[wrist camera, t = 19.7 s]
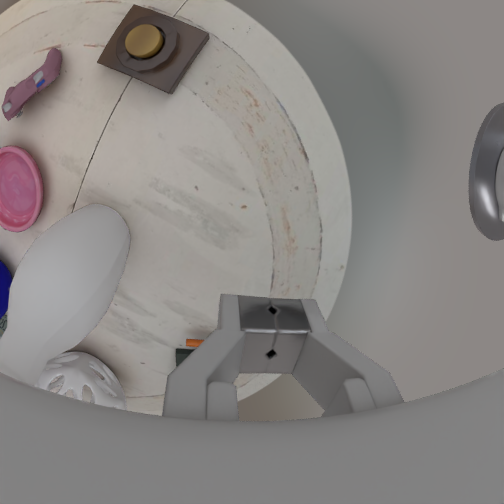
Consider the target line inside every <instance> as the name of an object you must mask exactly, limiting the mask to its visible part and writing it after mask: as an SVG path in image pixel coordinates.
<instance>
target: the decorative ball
mask: <svg viewBox="0 0 504 504" xmlns="http://www.w3.org/2000/svg"><path fill="white" fill-rule="evenodd" d="M91 368H92V369H94V370H96V371H98V372H99V373H101V374H102V376H103V377H104V378H105V379H103V380H102V379H100V378H99V377H98V376H97V375H96V374H95V373H94V372H93V370H92V369H91ZM60 375H62V376H61V377H60V378H59V379H58V380H56V381H55V382H53V383H51V381H52V380H53V379H54V378H56V377H57V376H60ZM61 384H63V386H62V387H61V389H60V390H59V391H58V392H56V393H57V394H60V395H63V396H66V392H67V391H68V390H70V389H71V390H72V392H73V396H74V399H77V400H81V401H83V399H82V391H83V387H84V385H87V386H89V387H90V389H91V390H92V398H91V401H90V403H93V404H97V405H102V406H106V407H111V408H116V409H121V410H127V405H126V398H125V394H124V391H123V389H122V386H121V384H120V382H119V381H118V379H117V378H116V376H115V375H114V373H113V372H112V371H111V370H110V369H109V368H108V367H107V366H106V365H105V364H104V363H102V362H101V361H100V360H98V359H97V358H95V357H94V356H92V355H90V354H87V353H84V352H67V353H62V354H60V355H58V356H56V357H54V358H52V359H50V360H48V361H47V363H46V365H45V367H44V369H43V371H42V373H41V375H40V377H39V379H38V381H37V383H36V385H35V386H36V387H39V388H42V389H44V390H47V391H50V390H51V389H53V388H55V387H57V386H59V385H61ZM110 393H111V394H112V395H113V396H114V397H112V396H111V394H110ZM114 406H115V407H114Z"/></svg>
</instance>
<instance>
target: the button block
mask: <svg viewBox="0 0 504 504" xmlns="http://www.w3.org/2000/svg"><path fill="white" fill-rule="evenodd" d="M143 24H150V25H153V26H155V27H156V28H157V29H158V30H159V31H160V32H161V34H162V36H163V44H162V47H161V48H160V50H159V51H158V52H157V53H156V54H154V55H153V56H151V57H148V58H138V57H136V56H134V55H132V54H130V53H129V52H128V51H127V49H126V47H125V40H126V37H127V35H128V34H129V32H130V31H131V30H132V29H134V28H135V27H137V26H139V25H143ZM208 40H209V33H207V32H205V31H202V30H200V29H198V28H196V27H193V26H191V25H189V24H186V23H184V22H182V21H179V20H177V19H174V18H172V17H169V16H166V15H164V14H161V13H158V12H155V11H153V10H150V9H147V8H144V7H141V6H137V5H133V6H132V8H131V9H130V10H129V12H128V13H127V15H126V16H125V18H124V19H123V20H122V22H121V23H120V25H119V26H118V28H117V29H116V31H115V33H114V34H113V36H112V37H111V39H110V41H109V42H108V44H107V45H106V47H105V49H104V51H103V52H102V54H101V56H100V58H99V59H98V61H97V63H99V64H102V65H104V66H107V67H110V68H112V69H115V70H117V71H119V72H122V73H124V74H127V75H129V76H131V77H134V78H136V79H138V80H141V81H143V82H145V83H147V84H149V85H152V86H154V87H156V88H158V89H160V90H162V91H164V92H167V93H169V94H173V92H174V90H175V89H176V87H177V85H178V84H179V82H180V81H181V79H182V78H183V76H184V74H185V73H186V71H187V70H188V68H189V67H190V65H191V64H192V62H193V61H194V59H195V58H196V56H197V55H198V53H199V52H200V51H201V49H202V48H203V46H204V45H205V44H206V42H207V41H208Z"/></svg>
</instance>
